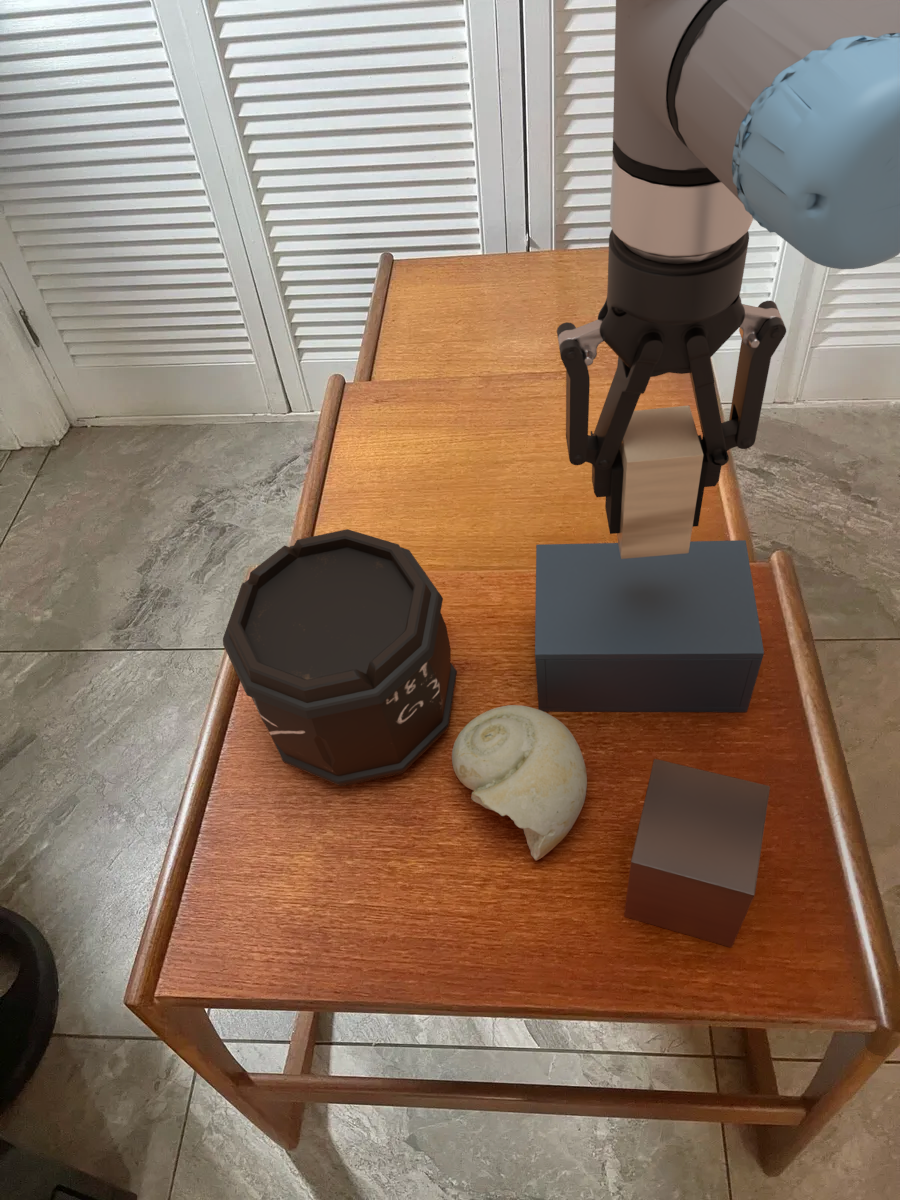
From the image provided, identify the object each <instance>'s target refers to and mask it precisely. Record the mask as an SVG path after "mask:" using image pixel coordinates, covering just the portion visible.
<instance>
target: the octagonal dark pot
mask: <svg viewBox="0 0 900 1200" xmlns="http://www.w3.org/2000/svg"><path fill="white" fill-rule="evenodd" d="M443 601H444V597H443V596H442V595H441V593H440V591H439V590H438V588H437V587H436V586H435V584H434V583H433V581H432V580H431V579H430V577H429V576H428V574H427V573H426V572H425V570H424V568H422V566H421V565H420V563H419V562H418V560H417V559H416V558H415V556H414V554H413V553H412V552H411V550H410V549H407V548H404V547H401V546H400V544H399V543H395V542H393V541H392V542H391V541H389V540H385V539H382V538H378V537H375V536H372V535H369V534H365V533H362V532H359V531H355V530H352V529H348V528H346V529H341V530H336V531H331V532H328V533H323V534H319V535H313V536H308V537H305V538H303V537H302V538H299V539H296V541H295V543H294V544H293V545H290V546H288V545H285V544H284V545H283V546H282V547H281V548H279V549H278V550H277V551H275V552H274V553H273V554H271V555H270V556H269V557H268V558H266V559H265V560H264V561H262V562H261V563H260V564H258V566H256V567H255V568H254V569H253V570H251V571H250V572H249V575H248V579H247V580H246V581H244V582H242V583H241V585H240V588H239V591H238V594H237V595H236V600H235V602H234V605H233V608H232V611H231V614H230V616H229V621H228V623H227V626H226V628H225V631H224V633H223V637H222V645H223V647H224V650H225V652H226V654H227V656H228V658H229V660H230V662H231V665H232V667H233V669H234V672H235V673H236V676H237V677H238V679H239V682H240V684H241V686H242V688H243V690H244V692H245V695H246V696H248V697H250V698H251V699H252V701H253V704H254V705H255V708H256V710H257V712H258V714H259V717H260V719H261V720H262V722H263V724H264V726H265V727H266V729H267V731H268V733H269V735H270V737H271V740H272V741H273V743H274V746H275V747H276V749H277V751H278V754H279V756H280V758H281V760H282V762H283V763H285V764H286V765H288V766H291V767H293V768H296V769H298V770H301V771H303V772H306V773H308V774H310V775H313V776H315V777H318V778H319V779H322V780H325V781H328V782H330V783H332V784H335V785H337V786H340V787H343V786H350V785H356V784H359V783H365V782H368V781H369V782H370V781H373V780H374V781H375V780H378V779H383V778H388V777H392V776H397V775H401V774H403V773H405V772H406V771H407V770H408V769H409V768H410V767H411V766H412V765H413V764H414V763H415V762H417V761H418V759H420V757H421V756H422V755H423V754H424V753H426V751H427V750H428V749H429V748H430V747H431V746H433V744H435V742H437V740H439V739H440V737H441V736H443V734H444V733H446V732H447V731H448V729H449V726H450V719H451V714H452V706H453V701H454V694H455V688H456V680H457V673H458V670H457V669H456V667H455V666H454V665H453V663H452V656H451V655H452V654H451V653H452V651H451V650H452V649H451V645H450V639H449V634H448V633H449V632H448V629H447V624H446V622H445V620H444V617H443V614H442V612H441V611H442V606H443Z"/></svg>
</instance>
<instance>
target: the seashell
mask: <svg viewBox="0 0 900 1200" xmlns="http://www.w3.org/2000/svg"><path fill="white" fill-rule="evenodd" d="M451 766H452V769H453V771H454V774H455V776H456V777H457V778H458V780H459V782H460V783H461V784H462V785H463V786H464V787H466V788H467V789H470V790H471V791H472V792H471V797H470V799H471V800H472V801H473V802H474V803H475V804H478V805H480V806H482V807H483V808H485V809H487V810H490V811H493V812H495V813H497V814H499V815H500V816H501V817H505V816H508V817H509V818H510V819H511V821H513V823H514V825H515V826H516V827H518V828H519V829H521V830H523V834H524V836H525V838H526V839H525V840H526V844H527V846H528V849H529V850H530V856H531V857H532V858H533V859H534V861H538V860H540V859H541V858H544V857H545V856H546V855H547V854H549V853H550V852H551V851H552V850H553V849H554V848H556V846H558V844H559V843H560V842H562V841H563V840H564V839H565V838H566V836H567V835H568V834H569V832H570V831H571V830H572V829H573V827H574V825H575V823H576V822H577V820H578V818H579V815H580V813H581V812H582V808H583V806H584V804H585V800H586V797H587V789H588V774H587V768H586V763H585V759H584V755H583V753H582V751H581V747H580V745H579V744H578V741H577V740H576V738H575V737H574V735H573V733H572V732H571V730H569V728H568V727H567V725H565V724H564V723H563V722H562V721H561V720H559V719H557V718H556V717H555V716H553V715H552V714H550V713H549V712H548V713H547V712H544V711H541V710H539V709H538V708H535V707H531V706H527V705H521V704H520V705H519V704H508V705H502V706H498V707H494V708H491V709H488V710H487V711H484V712H483V713H480V714H479V715H477V716H476V717H474V718H473V719H472V720H470V721H469V722H467V724H466V725H465V726H464V727H463V728H462V729H461V730H460V732H459V733H458V735H457V736H456V739H455V741H454V742H453V747H452V751H451Z"/></svg>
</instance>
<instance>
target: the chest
mask: <svg viewBox="0 0 900 1200" xmlns="http://www.w3.org/2000/svg"><path fill="white" fill-rule="evenodd" d="M534 661H535V679H536V691H537V705H538V707H537V709H538V710H541V711H544V712H546V713H547V712H548V713H549V712H554V713H555V712H556V713H557V712H559V713H561V712H563V713H564V712H565V713H567V712H569V713H570V712H571V713H572V712H575V713H576V712H578V713H579V712H581V713H583V712H585V713H586V712H588V713H591V712H592V713H595V712H596V713H747V712H748V710H749V707H750V703H751V700H752V696H753V692H754V689H755V687H756V683H757V679H758V675H759V672H760V668H761V666H762V662H763V658H762V659H535V658H534Z"/></svg>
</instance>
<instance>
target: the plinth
mask: <svg viewBox="0 0 900 1200" xmlns="http://www.w3.org/2000/svg"><path fill="white" fill-rule="evenodd" d="M652 762H653V763H652V766H651V770H650V773H649V774H650V775H649V779H648V783H647V788H646V791H645V797H644V801H643V805H642V809H641V815H640V819H639V823H638V828H637V832H636V836H635V840H634V845H633V850H632V855H631V859H630V864H629V874H628V879H627V880H628V882H627V888H626V898H625V905H624V912H623V913H624V914H623V917H625V918H628V919H631V920H634V921H638V922H642V923H645V924H647V925H648V924H649V925H651V926H654V927H655V926H656V927H658V928H662V929H665V930H668V931H673V932H675V933H680V934H683V935H687V936H690V937H694V938H697V939H700V940H703V941H707V942H709V943H713V944H714V943H715V944H717V945H721V946H724V947H727V948H733V946H734V944H735V941H736V938H737V937H738V934H739V932H740V930H741V927H742V926H743V923H744V921H745V919H746V916H747V914H748V912H749V909H750V908H751V905H752V903H753V900H754V899H755V895H756V891H757V890H756V889H757V882H758V875H759V867H760V860H761V854H762V846H763V841H764V840H763V839H764V832H765V825H766V818H767V810H768V806H769V805H768V804H769V797H770V792H771V791H770V790H771V786H770V785H766V784H763V783H759V782H754V781H752V780H751V781H750V780H746V779H743V778H737V777H733V776H730V775H725V774H720V773H716V772H713V771H709V770H704V769H699V768H697V767H692V766H688V765H684V764H679V763H674V762H670V761H666V760H662V759H658V758H654V759H653V761H652Z"/></svg>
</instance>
